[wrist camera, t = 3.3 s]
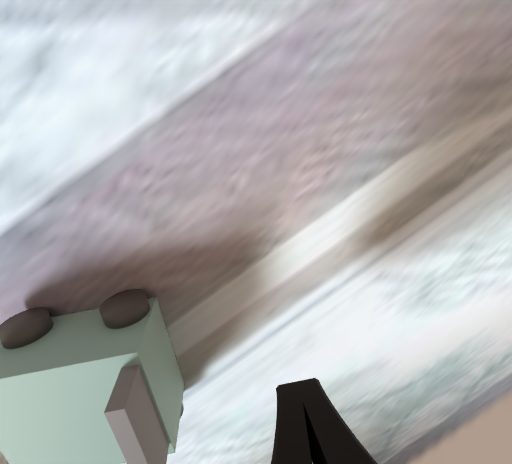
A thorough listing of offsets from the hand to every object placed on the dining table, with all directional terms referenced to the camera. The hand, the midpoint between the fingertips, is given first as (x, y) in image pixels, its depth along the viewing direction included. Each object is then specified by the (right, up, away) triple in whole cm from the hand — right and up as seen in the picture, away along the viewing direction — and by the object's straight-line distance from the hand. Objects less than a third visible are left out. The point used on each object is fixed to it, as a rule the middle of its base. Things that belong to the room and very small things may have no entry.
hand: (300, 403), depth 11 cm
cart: (-8, 0, +4) cm, 9 cm away
